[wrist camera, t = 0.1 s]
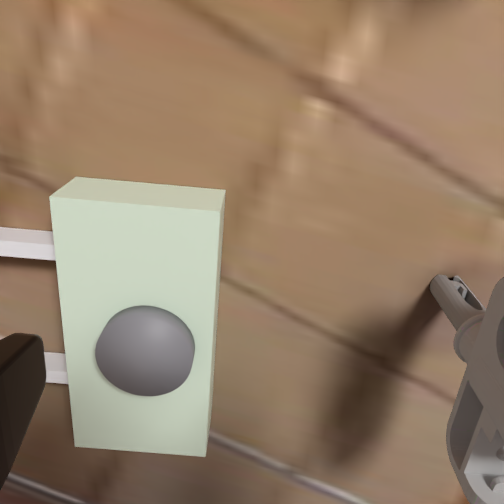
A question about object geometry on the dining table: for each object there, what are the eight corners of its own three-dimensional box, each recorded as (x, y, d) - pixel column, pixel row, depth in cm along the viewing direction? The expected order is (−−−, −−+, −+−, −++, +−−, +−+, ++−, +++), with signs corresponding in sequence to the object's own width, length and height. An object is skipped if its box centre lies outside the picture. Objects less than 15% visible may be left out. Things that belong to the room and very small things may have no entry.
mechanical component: (395, 363, 26) (468, 540, 17) (441, 185, 22) (573, 293, 12) (448, 367, 26) (549, 546, 17) (505, 191, 22) (682, 302, 12)
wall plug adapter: (211, 415, 28) (203, 472, 24) (-9, 398, 27) (-50, 453, 24) (225, 189, 22) (218, 220, 18) (-54, 165, 22) (-118, 190, 18)
